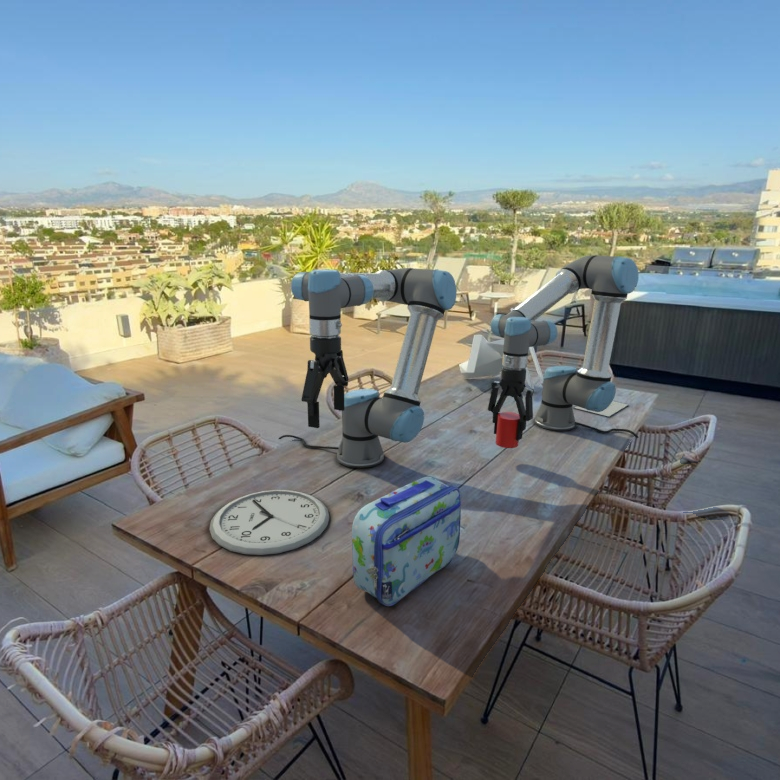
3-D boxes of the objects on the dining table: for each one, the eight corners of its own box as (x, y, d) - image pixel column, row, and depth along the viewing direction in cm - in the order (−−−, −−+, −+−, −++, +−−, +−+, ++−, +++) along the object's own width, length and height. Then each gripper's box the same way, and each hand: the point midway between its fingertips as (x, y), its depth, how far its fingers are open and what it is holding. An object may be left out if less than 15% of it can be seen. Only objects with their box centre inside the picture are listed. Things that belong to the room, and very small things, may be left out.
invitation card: (608, 416, 214) (573, 407, 224) (608, 416, 214) (573, 408, 224) (628, 404, 229) (594, 396, 238) (628, 405, 229) (594, 397, 238)
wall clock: (327, 546, 121) (194, 551, 119) (327, 552, 122) (195, 557, 119) (330, 485, 150) (223, 488, 147) (330, 490, 150) (224, 493, 148)
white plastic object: (480, 420, 263) (459, 397, 239) (461, 347, 286) (440, 319, 261) (551, 396, 251) (537, 369, 226) (526, 322, 273) (511, 290, 249)
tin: (491, 444, 169) (493, 416, 166) (501, 437, 175) (504, 410, 172) (512, 450, 165) (515, 421, 162) (522, 443, 170) (524, 415, 168)
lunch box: (381, 619, 101) (382, 525, 95) (345, 592, 109) (344, 503, 102) (464, 563, 119) (469, 480, 113) (428, 543, 126) (432, 464, 120)
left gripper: (313, 347, 114) (316, 437, 120) (361, 328, 136) (360, 405, 142) (283, 344, 116) (287, 432, 123) (335, 325, 138) (336, 401, 145)
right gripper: (479, 363, 166) (474, 431, 172) (539, 376, 153) (531, 447, 160) (491, 359, 171) (486, 425, 178) (550, 371, 159) (542, 440, 166)
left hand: (327, 418), depth 132 cm, fingers open, 13 cm apart
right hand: (507, 435), depth 169 cm, fingers closed on tin, 7 cm apart
